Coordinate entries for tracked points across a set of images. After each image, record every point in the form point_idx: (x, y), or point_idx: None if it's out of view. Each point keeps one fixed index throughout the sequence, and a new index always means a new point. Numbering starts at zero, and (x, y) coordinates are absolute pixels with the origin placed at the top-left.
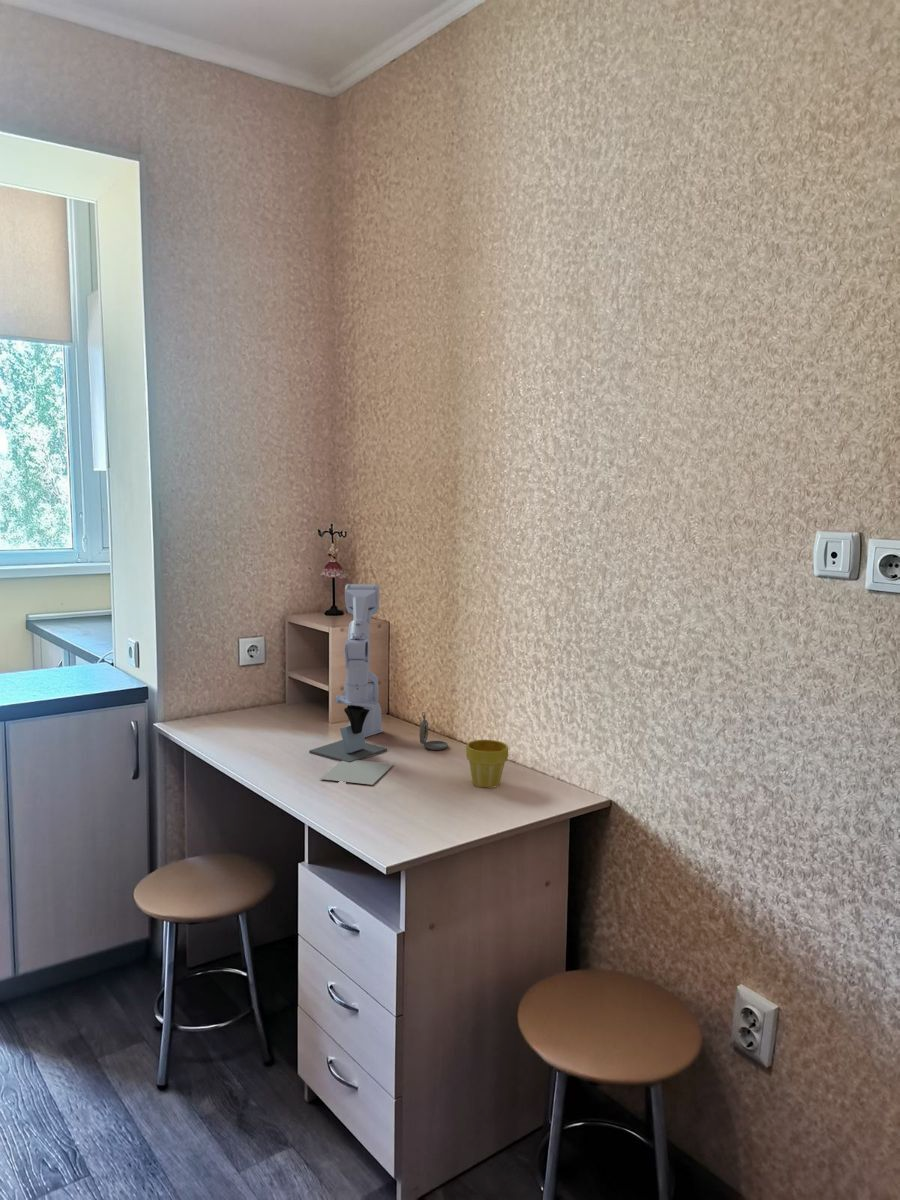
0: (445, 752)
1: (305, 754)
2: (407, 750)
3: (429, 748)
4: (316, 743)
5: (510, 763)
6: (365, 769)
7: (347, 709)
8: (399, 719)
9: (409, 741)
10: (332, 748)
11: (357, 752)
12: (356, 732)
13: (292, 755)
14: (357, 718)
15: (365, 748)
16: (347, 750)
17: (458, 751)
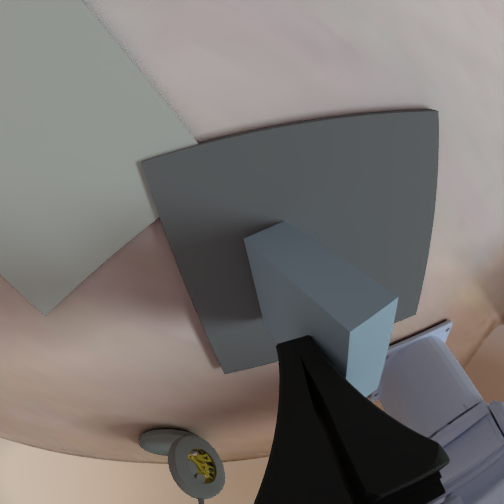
0: (122, 434)
1: (424, 80)
2: (185, 401)
3: (155, 431)
4: (471, 209)
5: (27, 442)
6: (11, 184)
7: (404, 486)
8: None
9: (258, 422)
10: (388, 211)
11: None
12: (277, 353)
13: (444, 35)
14: (269, 459)
15: None
16: (275, 233)
17: (119, 445)
